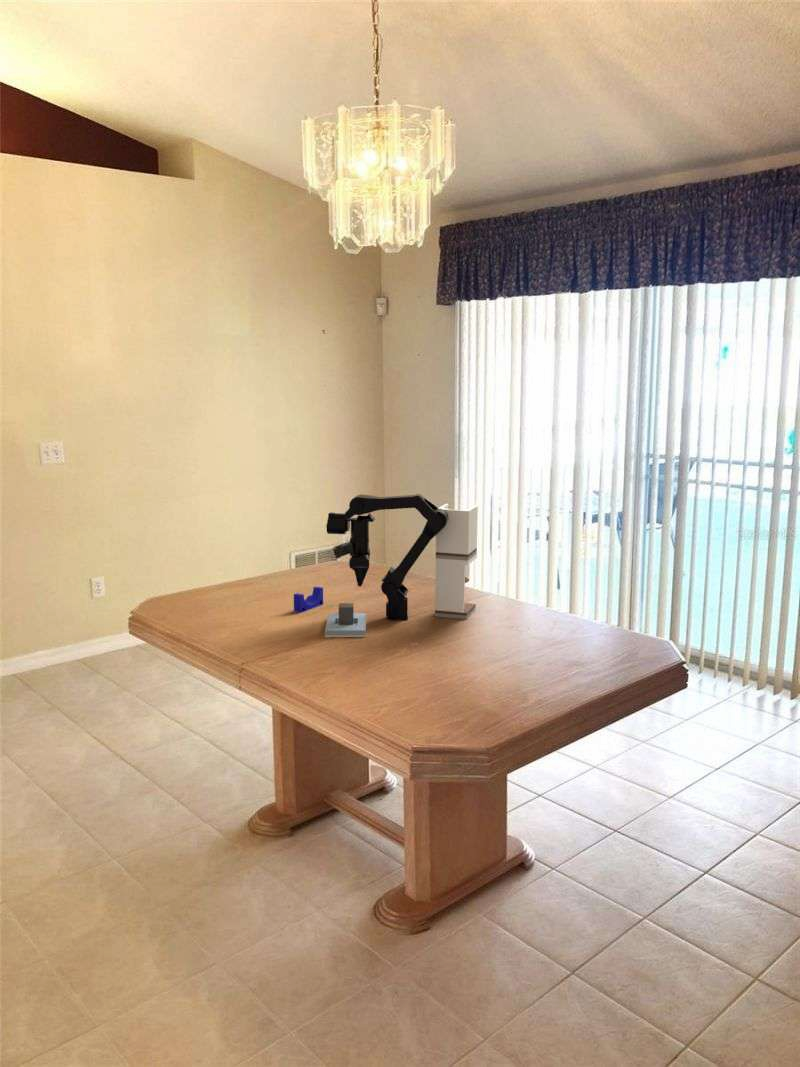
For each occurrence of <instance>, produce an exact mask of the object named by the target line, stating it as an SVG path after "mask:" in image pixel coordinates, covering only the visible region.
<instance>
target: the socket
mask: <svg viewBox="0 0 800 1067" xmlns="http://www.w3.org/2000/svg"><path fill="white" fill-rule="evenodd" d="M366 628H367V613H366V612H364V613H363V612H361V613H359V612H358V613H357V612H354V624H353V625H339V612H338V613H337V612H335V613H332V612H331V613H328V614H327V619H326V624H325V629H324V637H325V638H347V637H348V638H350V637H351V638H353V637H354V638H366V632H367V630H366Z"/></svg>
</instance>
